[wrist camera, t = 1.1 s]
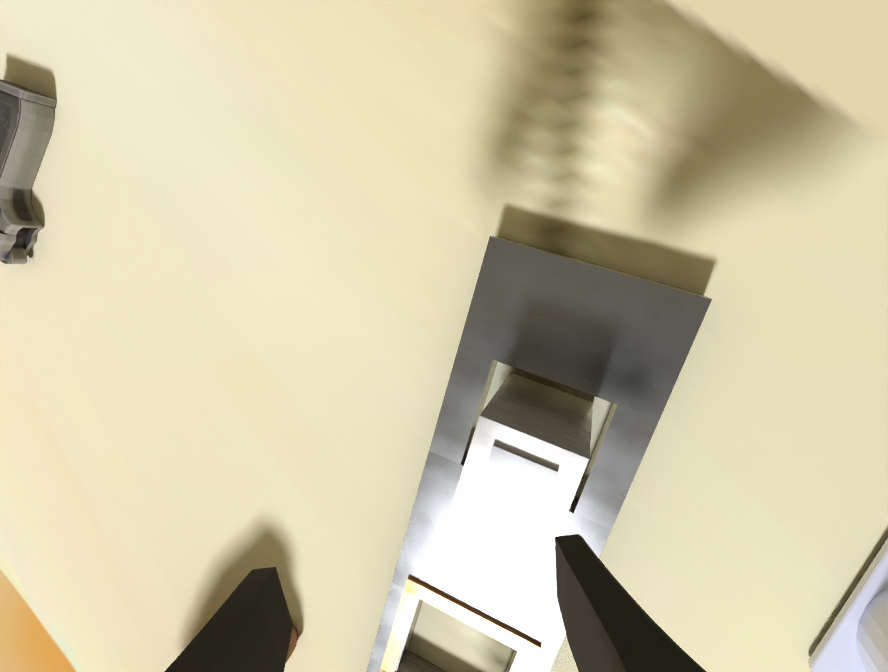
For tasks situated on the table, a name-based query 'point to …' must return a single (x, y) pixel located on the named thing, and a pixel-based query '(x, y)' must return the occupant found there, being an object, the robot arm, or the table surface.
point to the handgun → (21, 166)
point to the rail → (608, 473)
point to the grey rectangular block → (526, 460)
